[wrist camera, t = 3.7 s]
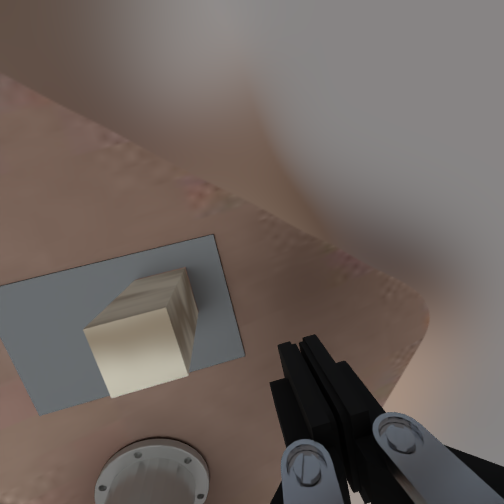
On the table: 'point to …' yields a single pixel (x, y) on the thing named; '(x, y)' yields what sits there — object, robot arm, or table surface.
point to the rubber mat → (91, 305)
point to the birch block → (145, 333)
